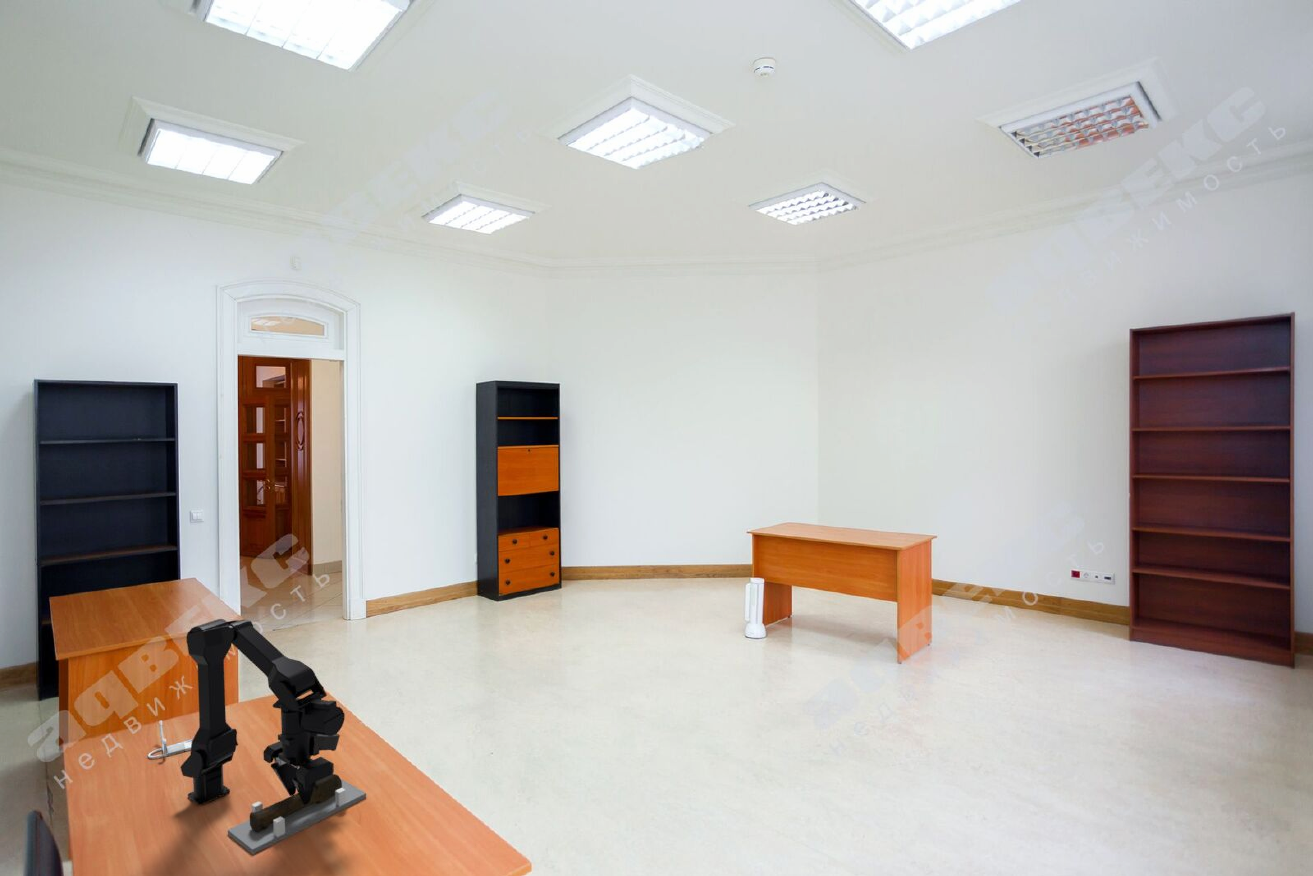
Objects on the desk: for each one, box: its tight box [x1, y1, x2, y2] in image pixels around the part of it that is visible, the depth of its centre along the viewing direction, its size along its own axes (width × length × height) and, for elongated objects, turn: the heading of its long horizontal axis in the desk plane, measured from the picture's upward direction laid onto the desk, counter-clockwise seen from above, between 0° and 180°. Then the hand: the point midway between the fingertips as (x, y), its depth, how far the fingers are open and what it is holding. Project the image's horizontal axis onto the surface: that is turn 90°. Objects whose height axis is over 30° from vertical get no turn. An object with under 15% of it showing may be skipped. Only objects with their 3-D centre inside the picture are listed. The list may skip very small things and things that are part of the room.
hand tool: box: [249, 773, 342, 833], centre depth 148 cm, size 19×4×5 cm, turn 142°
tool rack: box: [227, 778, 367, 855], centre depth 149 cm, size 11×24×4 cm, turn 144°
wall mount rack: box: [147, 720, 193, 759], centre depth 181 cm, size 16×14×6 cm
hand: (299, 799), depth 149 cm, fingers open, 6 cm apart
